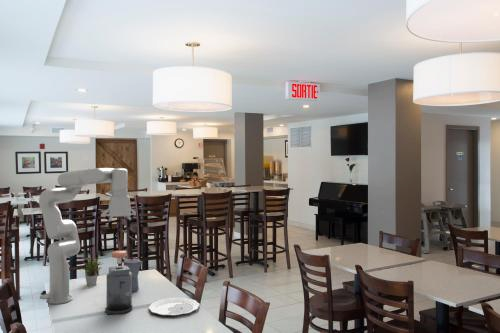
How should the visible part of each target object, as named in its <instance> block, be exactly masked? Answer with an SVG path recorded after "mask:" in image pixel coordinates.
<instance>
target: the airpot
mask: <svg viewBox="0 0 500 333" xmlns="http://www.w3.org/2000/svg"><path fill="white" fill-rule="evenodd" d="M132 295H133V294H132V273H131V272H130V269H129V268H128V267H127V266H126V265H125V266H124V265H121V266H119V265H117V266H109V267H108V273H107V274H106V301H105V302H106V305H105V313H106V314H107V315H110V316H111V315H112V316H119V315H125V314H128V313H131V312H132V311H133V309H134V307H133V304H132V302H133V300H132V299H133V298H132V297H133V296H132Z"/></svg>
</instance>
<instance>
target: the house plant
mask: <svg viewBox="0 0 500 333" xmlns="http://www.w3.org/2000/svg"><path fill="white" fill-rule="evenodd" d="M99 260H100V258H99V259H97V258H95V259H94V261H93V262H92V258H91V257H90V258H89V259H88V258H87V262H86V263H85V262H84V261H82V263H83V265H84V266H85V267H86V268H84V267H83V268H81V270H83V271H85V276H84V278H85V281H86V282H85V283H86V286H87V287H95V286H97V280H98V275H99V274H98V273H96V272H97V271H99V272H101V270H102V267H101V265H102V264H103V260H101V261H99ZM99 266H100V267H99Z"/></svg>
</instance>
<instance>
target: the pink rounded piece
mask: <svg viewBox="0 0 500 333" xmlns="http://www.w3.org/2000/svg"><path fill="white" fill-rule="evenodd" d="M127 252H128V251H126V250H115V251H112V252H111V257H112V258H115V259H117V260H116V264H117V265H119V264H121V265H122V261H121V258H122V259H123V258H126V257H127V255H128V254H127Z"/></svg>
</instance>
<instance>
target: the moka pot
mask: <svg viewBox="0 0 500 333" xmlns="http://www.w3.org/2000/svg"><path fill="white" fill-rule="evenodd" d="M122 263H123V266H125V265H126V266H127V267H128V268H129V269H130V272H131V273H132V293H133V294H134V293H136V292H139V290H140V289H139V287H140V286H139V272H140V268H141V266H142V264H143V261H141V259H138V258H134V256H133V255H131V256H130V258H129V259H127V258H123V257H122V258H121V264H118V266H122Z"/></svg>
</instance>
